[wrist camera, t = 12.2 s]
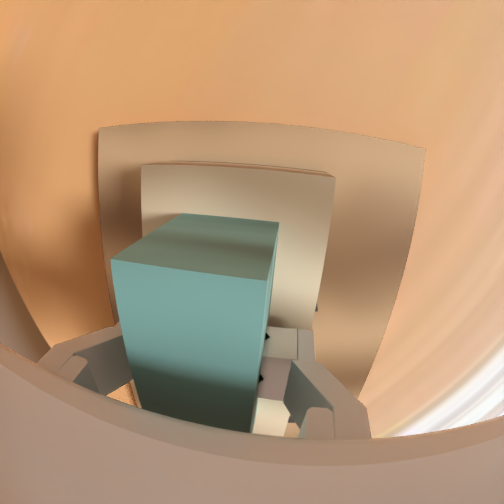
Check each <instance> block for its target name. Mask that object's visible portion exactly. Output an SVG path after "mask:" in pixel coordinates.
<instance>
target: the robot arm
mask: <svg viewBox="0 0 504 504" xmlns="http://www.w3.org/2000/svg"><path fill="white" fill-rule="evenodd" d="M131 380H133V377H132V373H131V369H130V365H129V361H128V357H127V353H126V349H125V344H124V340H123V335H122V330H121V325H120V321H119V322H118V323H117V324H116V325H115V326H114V327H111V326H109V327H106V328H104V329H101V330H98V331H95V332H92V333H89V334H86V335H83V336H80V337H77V338H74V339H71V340H68V341H66V342H63V343H60V344H57V345H54V346H53V347H52V348H51V349H50V350H49V351H48V352H47V353H46V354H45V355H44V356H43V357H42V358H41V359H40V360H39V361H38V362H37V363H36V364H35V363H34V362H32V361H30V360H28V359H27V358H25V357H23V356H21V355H19V354H18V353H16V352H15V351H13V350H11V349H10V348H8V347H6V346H5V345H3V344H2V343H0V504H504V415H503V416H500V417H497V418H493V419H490V420H486V421H483V422H479V423H475V424H471V425H466V426H462V427H457V428H453V429H448V430H442V431H437V432H430V433H424V434H417V435H409V436H400V437H389V438H374V439H372V438H371V432H370V426H369V420H368V415H367V409H366V407H365V406H364V405H363V404H362V403H361V402H360V401H359V400H358V399H357V398H356V397H355V396H354V395H353V394H352V393H351V392H350V391H349V390H348V389H347V388H346V387H345V386H344V385H343V384H342V383H341V382H339V381H338V380H337V379H336V378H335V377H334V376H333V375H332V374H331V373H330V372H329V371H328V370H327V369H326V368H325V367H324V366H323V365H322V364H321V363H320V362H316V356H315V342H314V331H313V330H310V329H292V328H281V327H271V326H267V330H266V337H265V341H264V347H263V352H262V359H261V367H260V377H259V383H258V391H257V397H258V398H264V399H271V400H279V401H283V403H284V405H285V406H286V408H287V410H288V411H289V413H290V415H291V416H292V418H293V419H294V421H295V423H296V424H297V426H298V428H299V429H300V432H299V434H298V437H297V438H289V437H278V436H268V435H260V434H252V433H245V432H239V431H233V430H227V429H221V428H216V427H211V426H206V425H201V424H197V423H193V422H188V421H184V420H180V419H176V418H172V417H169V416H165V415H161V414H158V413H155V412H151V411H148V410H145V409H141V408H138V407H135V406H132V405H129V404H126V403H124V402H121V401H118V400H115V399H113V398H110V397H107V396H106V395H108V394H109V393H111V392H113V391H114V390H116V389H118V388H119V387H121V386H123V385H124V384H126V383H128V382H129V381H131Z"/></svg>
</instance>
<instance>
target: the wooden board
mask: <svg viewBox="0 0 504 504" xmlns="http://www.w3.org/2000/svg"><path fill="white" fill-rule="evenodd" d="M425 153H426V149H423V148H420V147H416V146H412V145H408V144H403V143H399V142H395V141H390V140H385V139H381V138H376V137H371V136H365V135H360V134H354V133H348V132H342V131H335V130H328V129H321V128H313V127H305V126H295V125H285V124H273V123H258V122H236V121H176V122H155V123H141V124H129V125H119V126H110V127H102V128H99V138H98V189H99V210H100V224H101V236H102V246H103V254H104V263H105V270H106V277H107V283H108V290H109V296H110V301H111V307H112V312H113V317H114V322H115V325H116V324H117V323H118V322H119V321H120V320H119V315H118V309H117V304H116V298H115V291H114V285H113V278H112V270H111V262H110V259H111V258H112V257H114V256H115V255H117V254H118V253H120V252H121V251H123V250H124V249H126V248H127V247H129V246H130V245H132V244H133V243H135V242H137V241H138V240H140V239H141V238H143V237H142V211H141V165H143V164H150V163H157V162H165V161H204V162H225V163H242V164H255V165H267V166H278V167H288V168H297V169H306V170H314V171H322V172H327V173H329V174H330V175H332V176H334V177H335V178H336V184H335V192H334V200H333V208H332V215H331V222H330V229H329V235H328V242H327V248H326V254H325V260H324V266H323V272H322V277H321V283H320V288H319V293H318V298H317V304H316V308H315V313H314V318H313V323H312V328H311V330H313V331H314V342H315V356H316V362H320V363H321V364H322V365H323V366H324V367H325V368H326V369H327V370H328V371H329V372H330V373H331V374H332V375H333V376H334V377H335V378H336V379H337V380H338V381H339V382H341V383H342V384H343V385H344V386H345V387H346V388H347V389H348V390H349V391H350V392H351V393H352V394H353V395H354V396H355V397H356V398H358V396H359V394H360V392H361V390H362V387H363V385H364V383H365V381H366V378H367V376H368V374H369V371H370V369H371V367H372V364H373V362H374V359H375V357H376V354H377V352H378V349H379V347H380V344H381V341H382V339H383V336H384V333H385V330H386V327H387V325H388V322H389V319H390V316H391V313H392V310H393V307H394V303H395V300H396V297H397V294H398V290H399V287H400V283H401V280H402V276H403V272H404V269H405V265H406V261H407V257H408V253H409V249H410V244H411V240H412V235H413V231H414V226H415V221H416V216H417V210H418V204H419V198H420V192H421V186H422V178H423V171H424V162H425ZM129 382H130V385H131V388H132V392H133V395H134V398H135V401H136V404H137V407H138V408H141V409H142V407H141V404H140V401H139V398H138V394H137V391H136V387H135V384H134V380H131V381H129ZM299 432H300V429H299V428H298V426H297V424H296V423H295V421H294V419H293V418H292V416H291V415H290V416H289V419H288V423H287V426H286V429H285V433H284V436H278V437H289V438H297V437H298V434H299ZM253 434H258V433H253ZM260 435H265V434H260ZM268 436H274V435H268Z"/></svg>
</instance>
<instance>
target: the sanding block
mask: <svg viewBox="0 0 504 504" xmlns="http://www.w3.org/2000/svg"><path fill="white" fill-rule="evenodd" d="M335 184H336V178H335V177H334V176H332V175H330V174H329V173H327V172H322V171H314V170H306V169H297V168H288V167H278V166H267V165H255V164H242V163H225V162H204V161H165V162H157V163H150V164H143V165H141V211H142V237H143V238H141V239H140V240H138V241H137V242H135V243H133V244H132V245H130V246H129V247H127V248H126V249H124V250H123V251H121V252H120V253H118V254H117V255H115V256H114V257H112V258H111V259H110V262H111V270H112V278H113V285H114V291H115V298H116V304H117V309H118V315H119V320H120V325H121V330H122V335H123V340H124V344H125V349H126V353H127V357H128V361H129V365H130V369H131V373H132V377H133V380H134V384H135V387H136V391H137V394H138V398H139V401H140V404H141V407H142V409H145V410H148V411H151V412H155V413H158V414H161V415H165V416H169V417H172V418H176V419H180V420H184V421H188V422H193V423H197V424H201V425H206V426H211V427H216V428H221V429H227V430H233V431H239V432H245V433H252V434H253V433H258V434H265V435H274V436H284V433H285V429H286V426H287V423H288V419H289V416H290V413H289V411H288V410H287V408H286V406H285V405H284V403H283V401H279V400H271V399H264V398H258V397H257V391H258V383H259V377H260V367H261V359H262V352H263V347H264V341H265V337H266V330H267V326H271V327H281V328H292V329H310V330H311V328H312V323H313V318H314V313H315V308H316V304H317V298H318V293H319V288H320V283H321V277H322V272H323V266H324V260H325V254H326V248H327V242H328V235H329V229H330V222H331V215H332V208H333V200H334V192H335Z"/></svg>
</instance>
